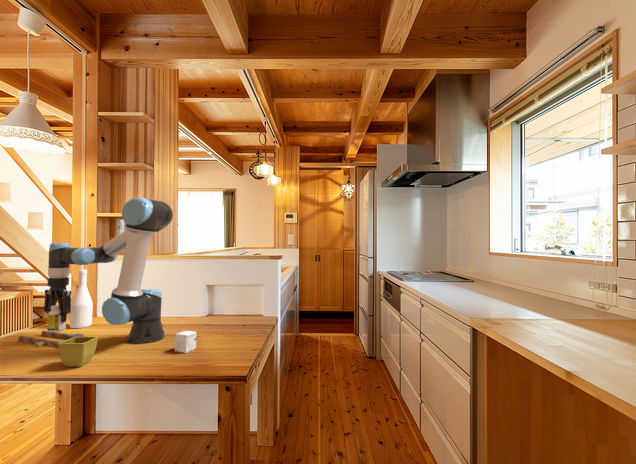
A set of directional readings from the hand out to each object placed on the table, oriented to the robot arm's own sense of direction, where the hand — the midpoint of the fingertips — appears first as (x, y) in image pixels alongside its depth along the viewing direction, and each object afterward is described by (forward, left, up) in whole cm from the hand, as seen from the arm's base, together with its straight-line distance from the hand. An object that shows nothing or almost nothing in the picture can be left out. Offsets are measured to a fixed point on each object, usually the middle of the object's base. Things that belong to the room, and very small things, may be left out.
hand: (56, 328), depth 144 cm
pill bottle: (0, 0, -1) cm, 1 cm away
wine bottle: (+15, -22, -6) cm, 27 cm away
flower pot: (-36, +16, -6) cm, 40 cm away
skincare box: (-62, -10, -6) cm, 63 cm away
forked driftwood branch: (0, 0, -6) cm, 6 cm away
